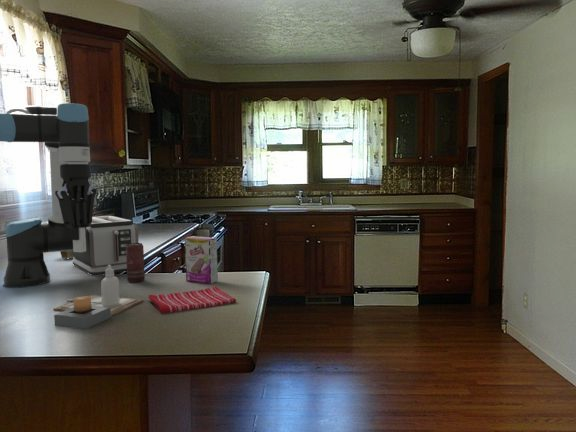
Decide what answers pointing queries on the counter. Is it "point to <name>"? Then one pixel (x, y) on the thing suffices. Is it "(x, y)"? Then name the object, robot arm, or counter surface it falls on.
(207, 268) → the candy bar box
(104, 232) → the toaster
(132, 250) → the can
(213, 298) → the dish towel
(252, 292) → the counter surface
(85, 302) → the button
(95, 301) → the brown picture frame
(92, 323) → the button housing
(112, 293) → the eye dropper bottle
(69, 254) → the ceramic cup
